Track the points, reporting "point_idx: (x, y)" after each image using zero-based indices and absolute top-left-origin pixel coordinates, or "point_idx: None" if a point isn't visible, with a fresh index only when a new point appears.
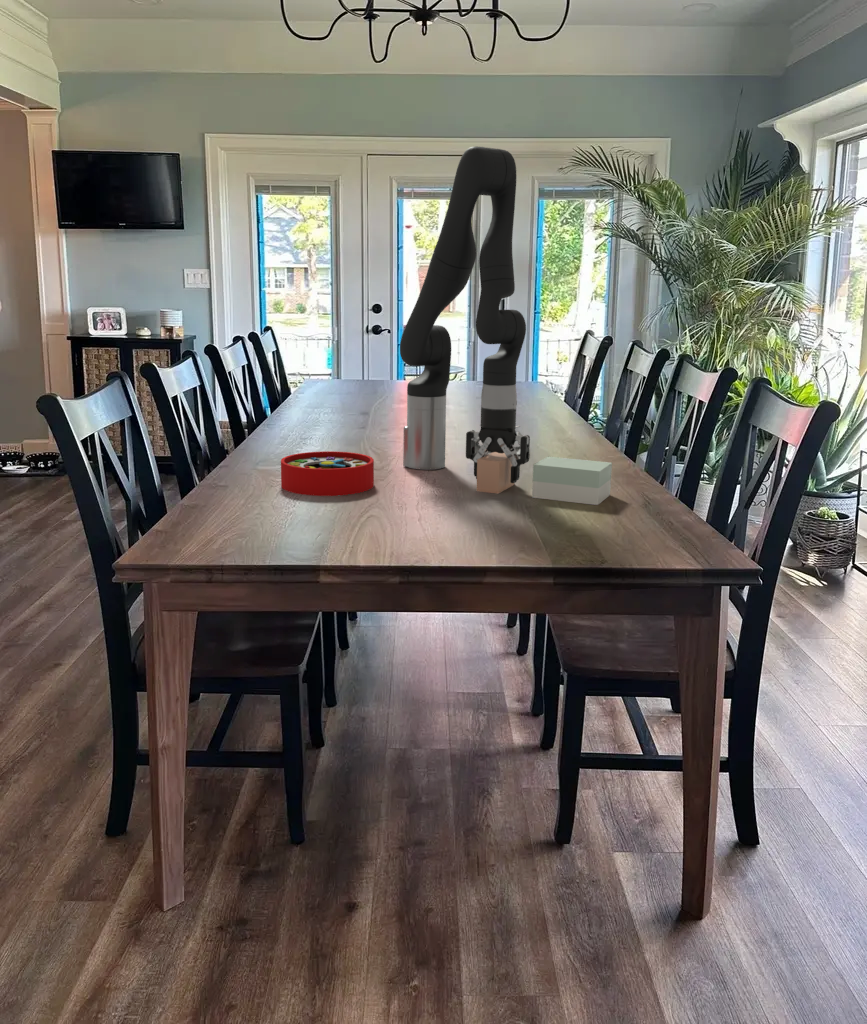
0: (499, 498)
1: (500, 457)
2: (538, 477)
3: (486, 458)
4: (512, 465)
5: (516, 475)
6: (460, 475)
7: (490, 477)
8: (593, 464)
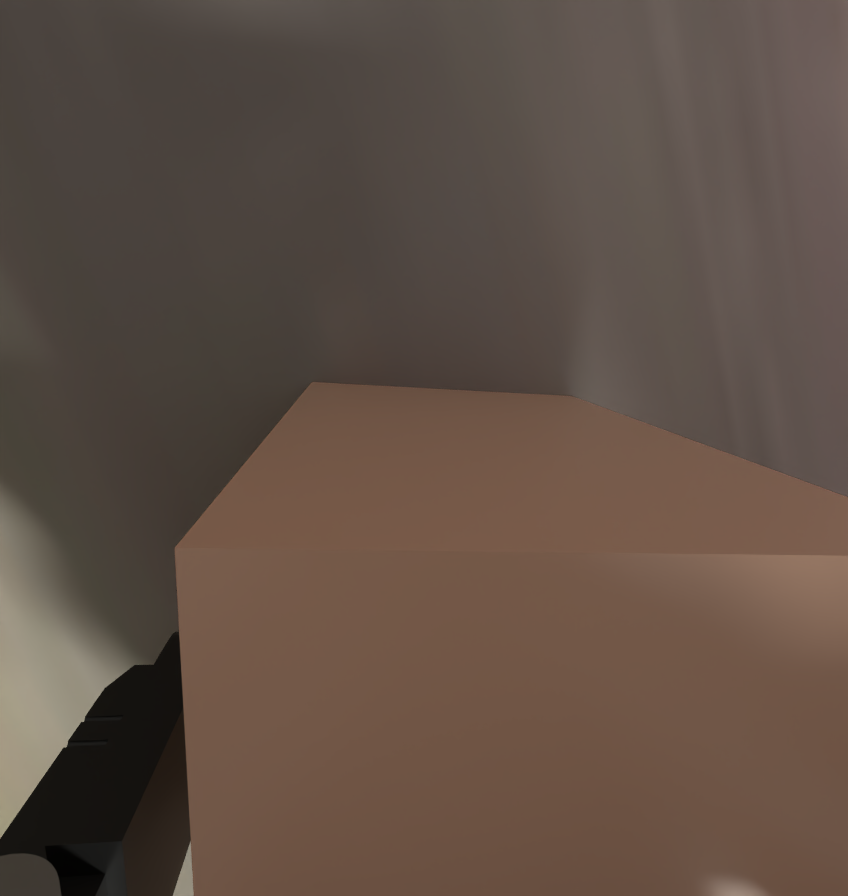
0: (201, 126)
1: None
2: None
3: (752, 808)
4: (93, 893)
5: (93, 724)
6: None
7: (439, 420)
8: None
